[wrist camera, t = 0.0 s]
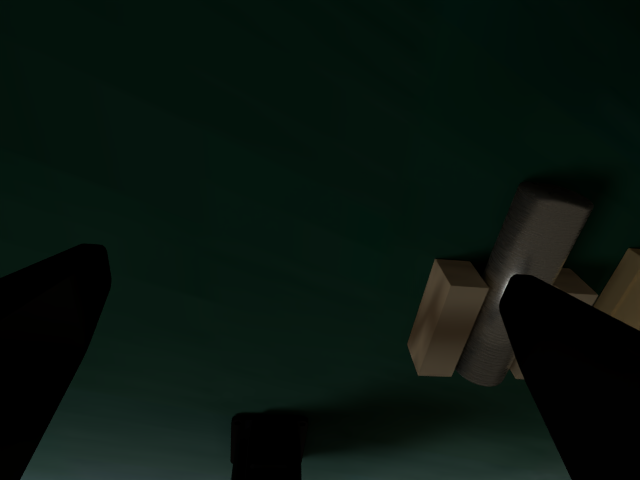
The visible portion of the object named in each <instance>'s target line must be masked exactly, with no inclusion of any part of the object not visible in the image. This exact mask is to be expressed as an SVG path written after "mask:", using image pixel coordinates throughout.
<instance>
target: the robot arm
mask: <svg viewBox="0 0 640 480" xmlns="http://www.w3.org/2000/svg"><path fill="white" fill-rule="evenodd" d="M110 288H111V273H110V267H109V261H108V255H107V250H106V248H105V247H104V246H103V245H98V244H80V245H78V246H75V247H73V248H71V249H68V250H66V251H63V252H61V253H59V254H56V255H54V256H52V257H49V258H47V259H44V260H42V261H40V262H37V263H35V264H33V265H30V266H28V267H26V268H23V269H21V270H18V271H16V272H14V273H11V274H9V275H7V276H4V277H2V278H0V480H20V479H21V477H22V475H23V473H24V471H25V469H26V467H27V465H28V463H29V462H30V460H31V458H32V456H33V454H34V452H35V450H36V448H37V446H38V444H39V442H40V440H41V438H42V437H43V435H44V433H45V431H46V429H47V427H48V425H49V423H50V421H51V419H52V417H53V415H54V414H55V412H56V410H57V408H58V406H59V404H60V402H61V400H62V398H63V396H64V394H65V392H66V390H67V389H68V387H69V385H70V383H71V381H72V379H73V377H74V375H75V373H76V371H77V369H78V367H79V365H80V364H81V362H82V360H83V357H84V355H85V353H86V351H87V349H88V346H89V344H90V341H91V339H92V336H93V334H94V331H95V328H96V326H97V323H98V320H99V317H100V315H101V312H102V309H103V307H104V304H105V301H106V299H107V296H108V293H109V291H110ZM499 311H500V315H501V317H502V320H503V323H504V326H505V329H506V332H507V335H508V338H509V340H510V343H511V346H512V349H513V352H514V355H515V358H516V360H517V363H518V365H519V368H520V370H521V373H522V375H523V377H524V379H525V382H526V384H527V386H528V388H529V390H530V392H531V394H532V397H533V399H534V401H535V403H536V405H537V407H538V409H539V411H540V414H541V416H542V418H543V420H544V422H545V424H546V426H547V428H548V431H549V433H550V435H551V437H552V439H553V441H554V443H555V446H556V448H557V450H558V452H559V454H560V456H561V458H562V460H563V463H564V465H565V467H566V469H567V471H568V473H569V475H570V477H571V480H640V331H639V330H637V329H635V328H633V327H631V326H630V325H628V324H626V323H624V322H622V321H620V320H618V319H616V318H614V317H612V316H610V315H608V314H606V313H604V312H602V311H601V310H599V309H597V308H595V307H593V306H591V305H589V304H587V303H585V302H583V301H581V300H579V299H577V298H575V297H574V296H572V295H570V294H568V293H566V292H564V291H562V290H560V289H558V288H556V287H554V286H552V285H550V284H548V283H546V282H545V281H543V280H541V279H539V278H537V277H535V276H533V275H525V274H515V275H513V276H512V277H511V278H510V280H509V282H508V284H507V286H506V288H505V291H504V293H503V295H502V297H501V299H500V302H499ZM307 429H308V419H307V418H306V417H298V416H246V415H237V416H234V417H233V418H232V422H231V463H232V464H233V468H232V477H231V480H301V462H302V457H303V451H304V445H305V440H306V434H307Z"/></svg>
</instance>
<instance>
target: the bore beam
mask: <svg viewBox="0 0 640 480" xmlns="http://www.w3.org/2000/svg"><path fill="white" fill-rule="evenodd" d="M553 286H554V287H556V288H558V289H560V290H562V291H564V292H566V293H568V294H570V295H572V296H574V297H575V298H577V299H579V300H581V301H583V302H585V303H587V304H589V305H591V306H592V305H593V303H594V302H595V300H596V298H597V297H598V294H597V293H596V292H594V291H593V290H592V289H591V288H590V287H589V286H588V285H587V284H586V283H585V282H584V281H583V280H582V279H581V278H579V277H578V276H577V275H576V274H575V273H574V272H573V271H572V270H571V269H570V268H562V269H561V271H560V272H559V274H558V276H557V278H556V280H555V282H554V284H553ZM488 290H489V287H488V286H487V285H486V283H485V282H484V280H483V279H482V278H481V276H480V275H479V273H478V272H477V271H476V269H475V268H474V266H473V265H472V264H471V262H470V261H458V260H444V259H435V261H434V264H433V267H432V270H431V273H430V276H429V279H428V282H427V286H426V289H425V292H424V295H423V298H422V301H421V304H420V307H419V310H418V313H417V316H416V319H415V322H414V326H413V329H412V332H411V335H410V338H409V341H408V344H407V345H408V348H409V351H410V354H411V357H412V360H413V362H414V365H415V368H416V371H417V374H418V376H444V377H452V374H453V372H454V369H455V367H456V365H457V362H458V360H459V358H460V355H461V353H462V351H463V348H464V346H465V344H466V341H467V339H468V337H469V334H470V332H471V330H472V327H473V325H474V322H475V320H476V318H477V315H478V313H479V311H480V308H481V306H482V304H483V301H484V299H485V297H486V294H487V292H488ZM510 370H511V372H512V373H513V375H514V377H515V378H516V379H524V377H523V375H522V373H521V370H520V368H519V365H518V363H517V360H516V358H514V360H513V362H512V364H511V366H510Z"/></svg>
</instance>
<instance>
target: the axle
mask: <svg viewBox="0 0 640 480" xmlns="http://www.w3.org/2000/svg"><path fill="white" fill-rule="evenodd" d="M593 207H594V205H593V203H592V202H591V201H590V200H589V199H587V198H586V197H584V196H582V195H580V194H578V193H576V192H574V191H571V190H569V189H566V188H563V187H559V186H556V185H552V184H544V183H533V182H522V183H520V184H519V186H518V188H517V191H516V193H515V196H514V198H513V201H512V203H511V206H510V208H509V211H508V213H507V215H506V218H505V220H504V223H503V225H502V228H501V230H500V233H499V235H498V238H497V240H496V243H495V245H494V247H493V250H492V252H491V255H490V257H489V260H488V262H487V265H486V267H485V270H484V272H483V275H482V277H481V278H482V279H483V280H484V282H485V283H486V285H487V286H488V287H489V290H488V292H487V294H486V297H485V299H484V301H483V304H482V306H481V308H480V311H479V313H478V315H477V318H476V320H475V322H474V325H473V327H472V330H471V332H470V334H469V337H468V339H467V341H466V344H465V346H464V348H463V351H462V353H461V355H460V358H459V360H458V362H457V365H456V367H455V370H456V371H457V372H458V373H459V374H460V375H461V376H463V377H464V378H465V379H467V380H469V381H471V382H473V383H475V384H478V385H482V386H496V385H498V384H500V383H501V382H502V381H503V379H504V377H505V375H506V374H507V372H508V370H509V368H510V366H511V364H512V362H513V360H514V358H515V355H514V352H513V349H512V346H511V343H510V340H509V338H508V335H507V332H506V329H505V326H504V323H503V320H502V317H501V315H500V311H499V302H500V299H501V297H502V295H503V293H504V291H505V288H506V286H507V284H508V282H509V280H510V278H511V277H512V276H513V275H515V274H525V275H533V276H535V277H537V278H539V279H541V280H543V281H545V282H546V283H548V284H550V285H552V286H553V284H554V282H555V280H556V278H557V276H558V274H559V272H560V271H561V269H562V267H563V265H564V263H565V261H566V259H567V257H568V255H569V253H570V251H571V250H572V248H573V246H574V244H575V242H576V240H577V238H578V236H579V234H580V232H581V230H582V229H583V227H584V225H585V223H586V221H587V219H588V217H589V215H590V213H591V211H592V209H593Z"/></svg>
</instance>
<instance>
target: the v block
mask: <svg viewBox="0 0 640 480" xmlns="http://www.w3.org/2000/svg"><path fill="white" fill-rule="evenodd" d="M593 307H595V308H597V309H599V310H601V311H602V312H604V313H606V314H608V315H610V316H612V317H614V318H616V319H618V320H620V321H622V322H624V323H626V324H628V325H630V326H631V327H633V328H635V329H637V330H639V331H640V249H633V248H628V250H627V252H626V253H625V255H624V257H623V258H622V260H621V261H620V263H619V265H618V266H617V268H616V270H615V271H614V273H613V275H612V276H611V278H610V280H609V281H608V283H607V284H606V286H605V288H604V289H603V291H602V293H601V294H600V296H599V298H598V299H597V301H596V303H595V304H594V306H593Z"/></svg>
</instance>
